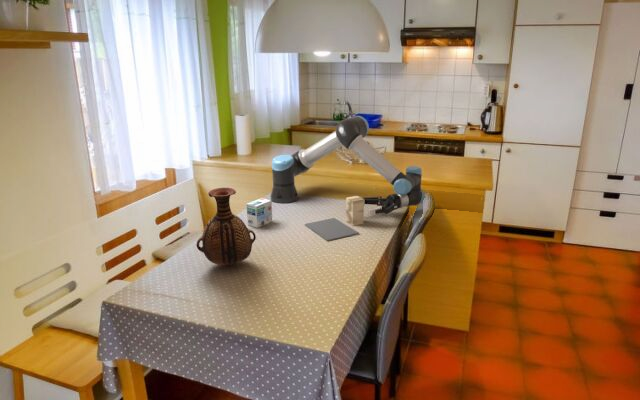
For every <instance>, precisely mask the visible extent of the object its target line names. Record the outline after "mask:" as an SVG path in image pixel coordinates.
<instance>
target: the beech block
mask: <svg viewBox="0 0 640 400" xmlns="http://www.w3.org/2000/svg"><path fill="white" fill-rule="evenodd" d="M364 208H365V205H364V199H363V197H361V196H358V195H353V196H349V197H345V222H346V223H347V224H349V225H350V226H357V225H361V224H365V223H364V222H365V220H364V218H365V217H364V216H365V215H364V214H365V209H364Z"/></svg>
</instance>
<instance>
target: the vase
mask: <svg viewBox="0 0 640 400" xmlns="http://www.w3.org/2000/svg"><path fill="white" fill-rule="evenodd" d="M236 193H237V191H236V190H235V188H232V187H217V188H213V189H211V190H209V192H208V196H209V198H214V199H215V202H216V213H215V215H214V216H212V217H211V218H210V219H209V220H208V221H207V223H206V224H205V226H204V229H203V231H202V235H201V236H200V237H199V238H198V239H197V241H196V249H197V250H198V251H199V252H201V253H202V254H204V256H205V258H206V259H207V260H208V261H209V262H211V263H212V264H215V265H221V266H227V267H228V266H229V267H230V266H232V265H233V264H237V263H240V262H242V261H244V260H246V259H248V258H249V256H250V255H251V252H252V247H253V244H254V242H255V241H256V239H257V236H256V233H255V232H254V231H253V230H252V229H251V228H249V227H247V225H246V223H245V222H244V220H243V219H242V218H241V217H239V216H238V215H236V214H234V213H232V210H231V205H230V204H231V203H230V198H231V196H233V195H236ZM251 234H252V236H253V237H252V236H251ZM201 241H202V242H201ZM200 243H202V246H200Z"/></svg>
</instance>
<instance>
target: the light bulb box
mask: <svg viewBox="0 0 640 400" xmlns="http://www.w3.org/2000/svg"><path fill="white" fill-rule="evenodd" d="M272 202H273V201H271V199H266V198H263V197H262V198H258V199H256V200H253V201H250V202H248V203H246V215H247V225H248V226H249V227H253V228H256V229H258V228H261V227H262V226H265V225H268V224H270V222H271V223H273V207H272V206H273V205H272Z"/></svg>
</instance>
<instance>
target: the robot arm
mask: <svg viewBox="0 0 640 400" xmlns="http://www.w3.org/2000/svg"><path fill="white" fill-rule="evenodd" d="M369 130H370V127H369V122H368V120H367V119H366V118H364V116H361V115H354V116H352V117H349V118H345V119H343V120H341V121H340V122H339V123H337V125H336V127H335V130H334V131H333V132H331V133H330V134H328V135H326V136H325V137H324V138H322V139H320V140H319V141H317V142H316V143H313V144H312V145H310V146H309V147H307V148H306V149H305V148H300V150H298V151H296V152H294V153H293V154H281V155H277V156H275V157H273V159H272V161H271V171H272V172H271V173H272V189H271V192H270V200H271V201H272V202H274V203H276V204H277V203H278V204H288V203H293V202H297V201H298V200H299V193H298V190H297V187H296V184H295V177H297V176H299V175H302V174H304V173H306V172H307V171H309V170H310V169H311V168H313V167H314V164H315V163H317V162H318V161H320V160H321V159H322V158H325V157H326V156H328V155H330V154H332V153H333V152H334V151H336V150H337V149H340V148H342V147H345V148H346V150H348V151H349V152H351V151H352V153H353V152H354V154H356V155H357V156H358V157H359V158H360V159H362V160H363V162H365V163H366V164H368V166H370V167H371V168H372V169H373V170H375V171H376V172H377V173H378V174H379V175H380V176H381V177H382V178H383V179H385V180H386V181H387V182H388V183H389V184H391V186H393V187H392V188H393V190H394V193H391V194H387V196H386V198H385V197H384V198H383V197H382V196H370V197H369V196H368V197H365V196H363V197H362V198H363V199H364V206H365V205H373V206H374V205H376V206H378V207H376V208H375V207H374V208H369V209H368V212H367V213H368V214H367V215H368V217H369V216H375V215H378V214H384V215H388V214H390V213H391V212H393V211H395V210H398V209H403V208H407V207H412V206H417V205H420V204H423V203H424V202H423V200H424V198H425V199H426V194H425V191H424V190H423V189H422V176H423V174H422V173H423V172H422V167H420V166H416V165H415V166H414V165H412V166H411V165H410V166H408V167H407V168H406V170H405V174H404V173H403V172H402V171H401V170H400V169H399V168H398V167H396V166H395V165H394V164H393V163H392V162H391V161H389V160H388V159H387V158H386V157H384V155H382V153H380V152H379V151H378V150H376V149H375V148H374V147H373V146H372V145H370V143H368V142H367V141H366V140H365V139H364V138H365V137H367V135H368V133H369ZM422 202H423V203H422Z"/></svg>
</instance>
